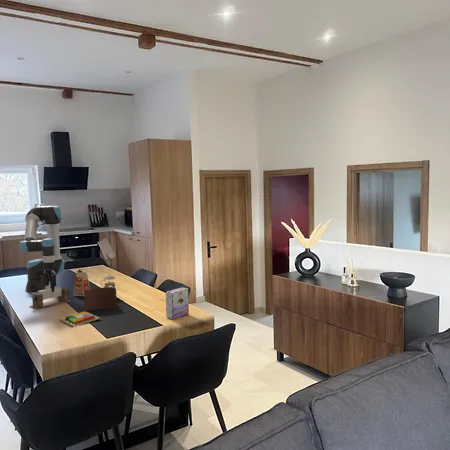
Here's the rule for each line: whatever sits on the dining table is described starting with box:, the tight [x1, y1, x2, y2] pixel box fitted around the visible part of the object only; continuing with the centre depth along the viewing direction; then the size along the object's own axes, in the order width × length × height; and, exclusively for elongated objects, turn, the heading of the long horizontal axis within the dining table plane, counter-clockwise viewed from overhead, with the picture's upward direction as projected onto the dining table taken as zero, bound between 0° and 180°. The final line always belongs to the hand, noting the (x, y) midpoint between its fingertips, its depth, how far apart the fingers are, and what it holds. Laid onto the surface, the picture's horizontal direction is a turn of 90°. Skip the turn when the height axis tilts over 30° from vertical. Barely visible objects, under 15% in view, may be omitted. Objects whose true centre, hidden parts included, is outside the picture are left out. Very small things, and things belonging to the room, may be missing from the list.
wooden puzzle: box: [58, 311, 102, 327], centre depth 253 cm, size 18×19×4 cm
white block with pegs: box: [30, 286, 68, 301], centre depth 287 cm, size 5×24×6 cm, turn 142°
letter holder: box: [83, 286, 118, 312], centre depth 280 cm, size 10×20×14 cm, turn 109°
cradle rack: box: [29, 286, 72, 310], centre depth 288 cm, size 10×24×9 cm, turn 142°
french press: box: [99, 261, 117, 298], centre depth 306 cm, size 10×12×25 cm
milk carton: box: [73, 268, 91, 297], centre depth 313 cm, size 9×9×20 cm
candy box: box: [165, 287, 190, 320], centre depth 258 cm, size 14×6×16 cm, turn 141°
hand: (50, 295), depth 288 cm, fingers closed on white block with pegs, 5 cm apart
